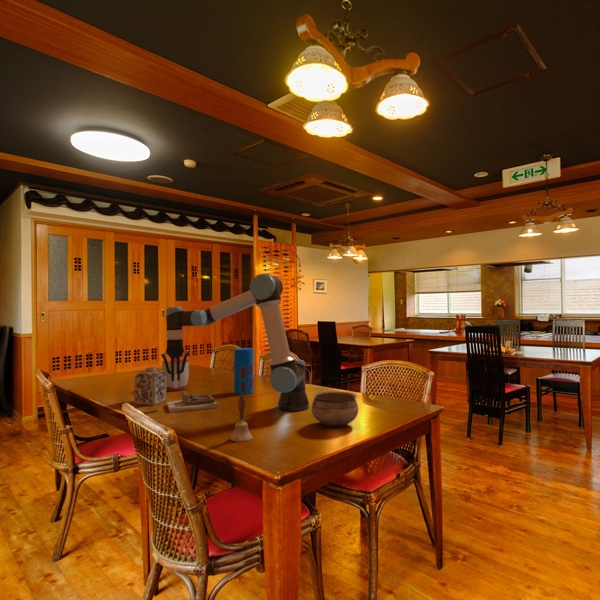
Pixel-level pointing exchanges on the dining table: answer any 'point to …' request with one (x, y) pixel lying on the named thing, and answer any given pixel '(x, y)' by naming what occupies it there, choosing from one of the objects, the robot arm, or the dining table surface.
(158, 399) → the decorative jar
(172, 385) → the citrus juicer
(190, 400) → the walnut panel
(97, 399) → the dining table surface
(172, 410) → the keyhole board
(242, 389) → the thermos
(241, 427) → the hand bell
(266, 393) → the dining table surface
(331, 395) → the cooking pot
